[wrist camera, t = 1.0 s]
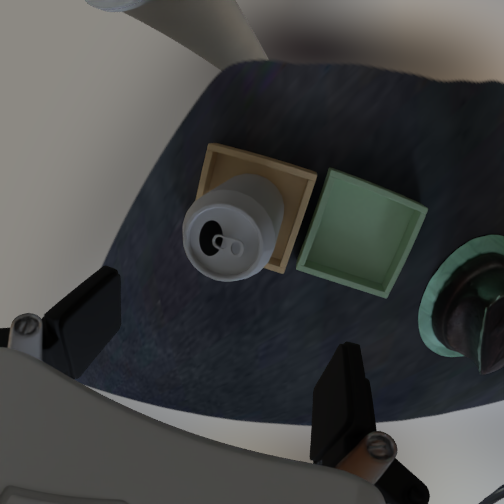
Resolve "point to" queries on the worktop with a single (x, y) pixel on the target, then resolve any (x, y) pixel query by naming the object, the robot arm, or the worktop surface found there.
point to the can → (234, 228)
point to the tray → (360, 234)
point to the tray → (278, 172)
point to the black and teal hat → (467, 305)
